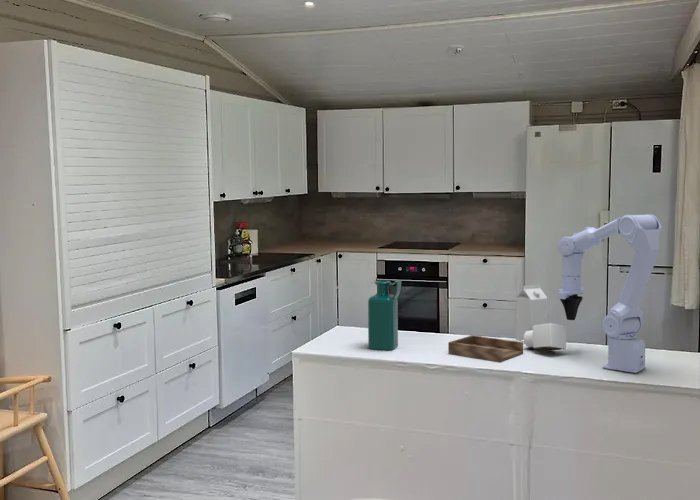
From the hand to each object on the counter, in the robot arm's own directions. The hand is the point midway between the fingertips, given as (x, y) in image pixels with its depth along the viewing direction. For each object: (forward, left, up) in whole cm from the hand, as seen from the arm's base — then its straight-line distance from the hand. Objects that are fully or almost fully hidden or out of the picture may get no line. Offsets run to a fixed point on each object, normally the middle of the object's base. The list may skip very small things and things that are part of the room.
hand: (571, 319), depth 216 cm
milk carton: (+17, -7, -11) cm, 21 cm away
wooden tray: (+20, +17, -10) cm, 28 cm away
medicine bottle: (+1, +5, -4) cm, 7 cm away
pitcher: (+49, +30, -11) cm, 58 cm away
